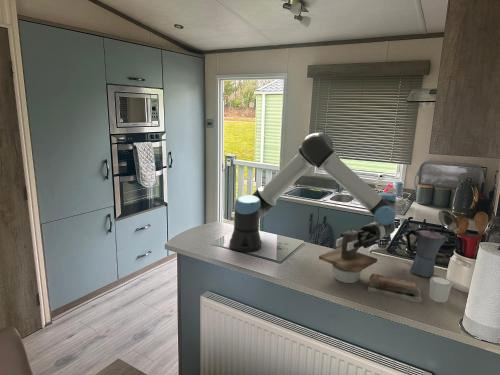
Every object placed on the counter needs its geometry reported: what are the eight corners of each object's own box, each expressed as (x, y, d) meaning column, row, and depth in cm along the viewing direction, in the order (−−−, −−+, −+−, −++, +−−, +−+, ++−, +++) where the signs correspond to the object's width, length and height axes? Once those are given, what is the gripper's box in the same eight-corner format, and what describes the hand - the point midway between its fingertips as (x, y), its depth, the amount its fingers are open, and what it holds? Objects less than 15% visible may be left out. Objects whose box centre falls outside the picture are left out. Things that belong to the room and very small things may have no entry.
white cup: (426, 299, 122) (429, 281, 120) (428, 291, 127) (431, 274, 126) (448, 306, 118) (452, 287, 117) (449, 297, 124) (452, 279, 123)
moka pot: (444, 281, 137) (453, 233, 133) (403, 275, 140) (410, 228, 136) (437, 271, 146) (445, 226, 142) (398, 266, 149) (405, 222, 145)
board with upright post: (318, 258, 134) (321, 231, 132) (340, 249, 145) (343, 223, 143) (356, 273, 123) (359, 243, 121) (377, 261, 134) (380, 234, 132)
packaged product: (368, 280, 125) (370, 269, 134) (367, 292, 126) (369, 281, 135) (423, 292, 118) (422, 280, 127) (421, 304, 119) (420, 292, 128)
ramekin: (327, 280, 133) (329, 267, 132) (334, 269, 143) (336, 257, 142) (357, 287, 128) (359, 274, 127) (362, 276, 138) (364, 263, 137)
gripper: (390, 247, 140) (362, 262, 124) (352, 235, 152) (322, 247, 135) (393, 229, 138) (364, 242, 122) (354, 219, 150) (324, 229, 134)
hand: (342, 245), depth 129 cm, fingers closed on board with upright post, 4 cm apart
